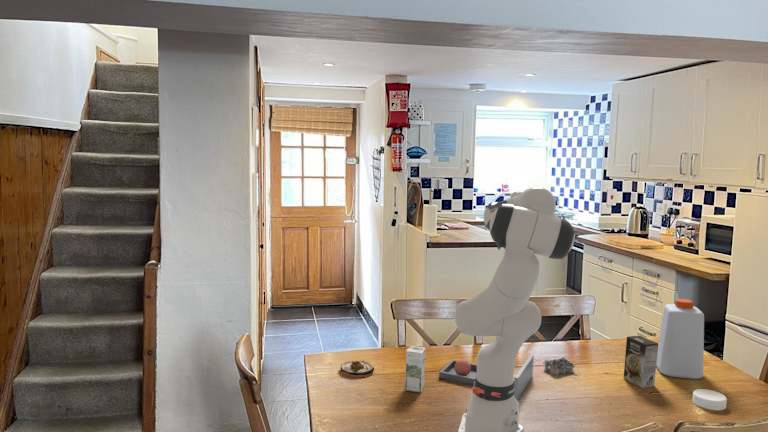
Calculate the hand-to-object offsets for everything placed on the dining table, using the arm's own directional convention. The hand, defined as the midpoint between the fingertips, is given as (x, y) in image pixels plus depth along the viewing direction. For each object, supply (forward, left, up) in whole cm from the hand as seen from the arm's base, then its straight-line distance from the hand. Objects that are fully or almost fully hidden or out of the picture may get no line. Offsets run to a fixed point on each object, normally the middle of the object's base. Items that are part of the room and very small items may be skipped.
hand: (517, 277), depth 201 cm
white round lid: (+16, -62, -39) cm, 76 cm away
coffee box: (+24, -40, -39) cm, 61 cm away
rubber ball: (-3, +18, -35) cm, 40 cm away
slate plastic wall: (-2, -4, -39) cm, 39 cm away
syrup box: (-22, +29, -39) cm, 53 cm away
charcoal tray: (-2, +18, -39) cm, 43 cm away
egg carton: (+21, -12, -39) cm, 46 cm away
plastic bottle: (+43, -53, -39) cm, 79 cm away
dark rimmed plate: (-18, +54, -40) cm, 69 cm away
